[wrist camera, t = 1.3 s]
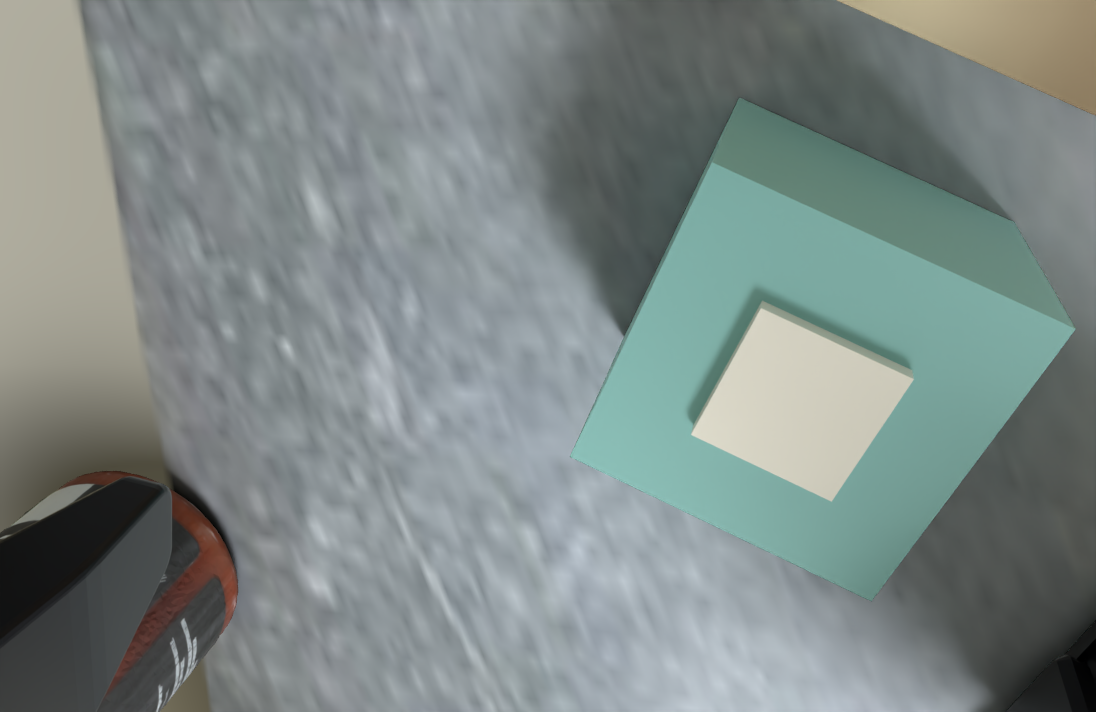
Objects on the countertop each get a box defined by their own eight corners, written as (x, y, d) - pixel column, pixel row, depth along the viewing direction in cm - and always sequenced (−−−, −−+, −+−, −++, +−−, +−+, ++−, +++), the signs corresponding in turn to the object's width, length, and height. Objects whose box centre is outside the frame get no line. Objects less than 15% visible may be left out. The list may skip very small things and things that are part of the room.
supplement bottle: (41, 440, 26) (-430, 769, 16) (241, 485, 25) (-138, 866, 15) (72, 612, 29) (-317, 983, 19) (254, 659, 28) (-60, 1080, 18)
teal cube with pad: (1014, 221, 18) (1081, 338, 13) (861, 449, 20) (872, 613, 16) (739, 97, 18) (709, 167, 13) (623, 338, 21) (565, 465, 16)
